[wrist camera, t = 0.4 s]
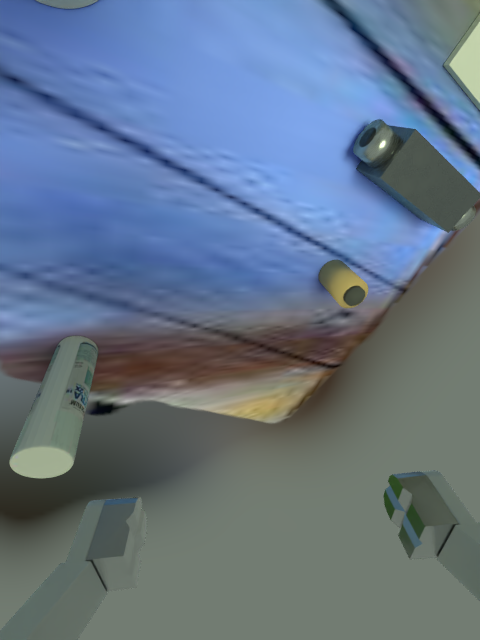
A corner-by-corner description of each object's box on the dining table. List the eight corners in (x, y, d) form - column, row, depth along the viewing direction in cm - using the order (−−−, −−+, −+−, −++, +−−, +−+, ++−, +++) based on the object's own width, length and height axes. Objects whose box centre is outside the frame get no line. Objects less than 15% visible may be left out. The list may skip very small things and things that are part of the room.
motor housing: (340, 156, 42) (363, 164, 37) (370, 110, 39) (399, 113, 34) (431, 227, 52) (459, 241, 47) (460, 194, 49) (492, 205, 44)
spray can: (103, 361, 54) (80, 472, 38) (63, 366, 52) (22, 483, 37) (93, 332, 50) (63, 442, 34) (50, 337, 49) (-2, 453, 33)
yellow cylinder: (318, 264, 51) (340, 288, 45) (346, 256, 51) (372, 279, 45) (318, 289, 54) (339, 314, 48) (345, 281, 54) (369, 305, 48)
